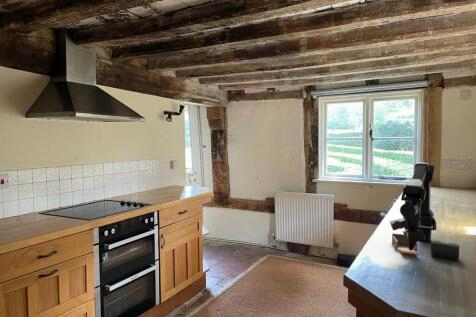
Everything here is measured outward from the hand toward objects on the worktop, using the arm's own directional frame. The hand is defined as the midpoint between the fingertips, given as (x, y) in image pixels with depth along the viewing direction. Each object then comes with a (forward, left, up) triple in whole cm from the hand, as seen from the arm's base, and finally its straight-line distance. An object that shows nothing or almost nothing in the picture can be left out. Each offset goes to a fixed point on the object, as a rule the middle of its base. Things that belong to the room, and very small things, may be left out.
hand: (410, 250), depth 141 cm
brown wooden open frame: (-13, 0, -3) cm, 13 cm away
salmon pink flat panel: (-7, 0, -2) cm, 7 cm away
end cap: (-5, +14, -3) cm, 15 cm away
